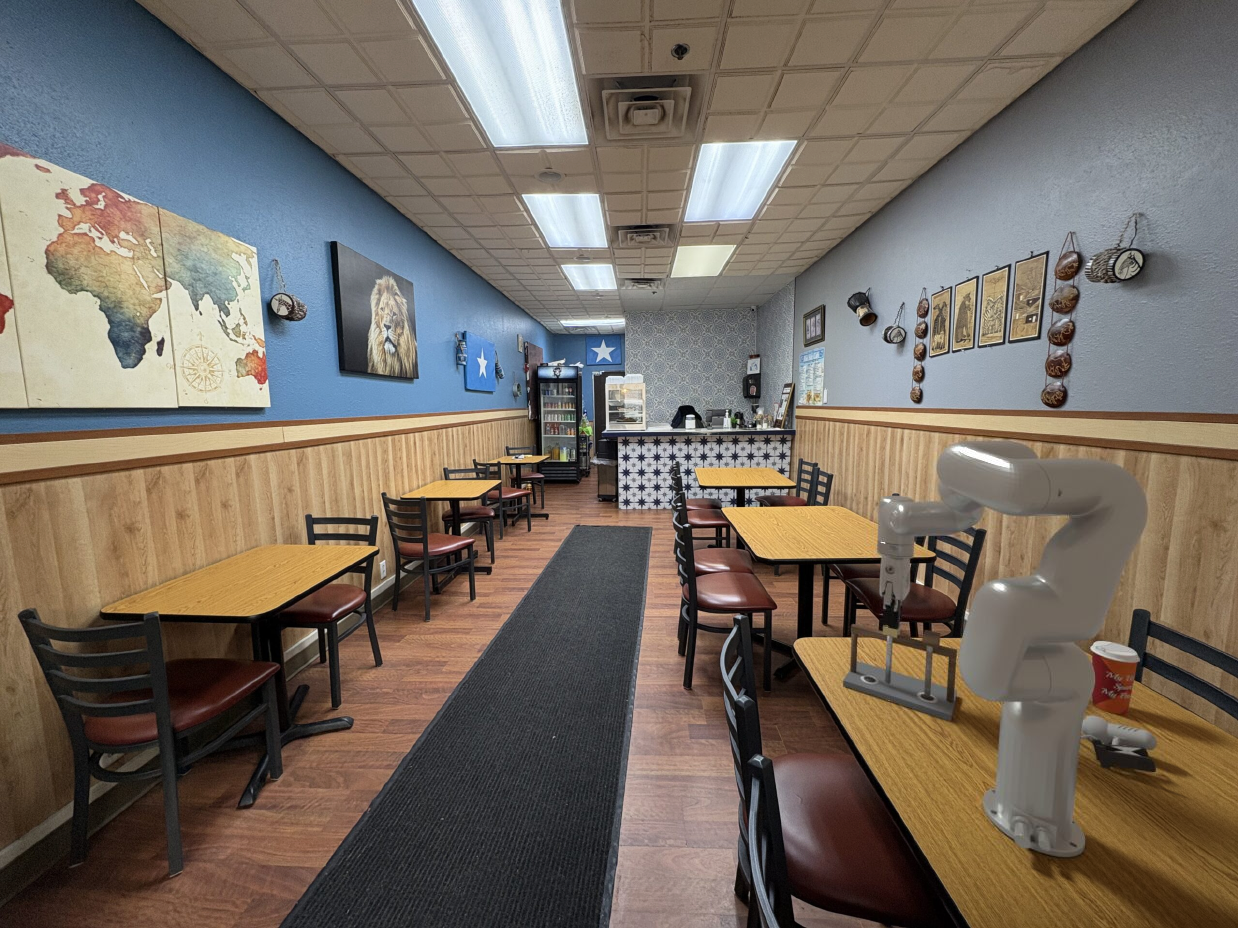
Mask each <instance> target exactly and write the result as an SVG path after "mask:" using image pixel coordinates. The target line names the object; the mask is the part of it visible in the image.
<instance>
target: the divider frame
mask: <svg viewBox="0 0 1238 928" xmlns="http://www.w3.org/2000/svg"><path fill="white" fill-rule="evenodd" d="M850 633H851V636H850V637H851V639H850V641H851V642H850V669H849V671H851V672H853V673H856V668H857V661H858V660H857V659H858V640H859V639H858V637H859V636H858V635H860V636H864V637H869V638H872V639H877V640H880V641H883V642H884V641H885V642H887V635H883V630H880V629H875V628H873V627H872V628H871V627H866V626H863V625H859V624H854V623H852V624H851V625H850ZM940 643H941V632H936V631H932V630H927V629H925V630H924V632H923V634H922V635H921V640H920V639H916V638H912V637H907V636H904V635H900V634H899V635H898V637H897V638H895V637H893V644H896V645H899V646H903V647H908V648H911V649H916V650H919V651H923V652H925V653H926V654H925V655H926V656H925V673H924V681H925V688H924V693H925V695H926V696H929V695H930V693H931V683H932V675H933V674H932V671H933V655H938V656H942V657H945V658H948V664H947V681H946V682H947V683H946V687H947V697H946V700H947V701H948V702H951V703H953V702H954V690H956V688H955V687H956V671H957V667H956V666H957V656H958V649H956V648H952V647H949V646H944V645H940Z"/></svg>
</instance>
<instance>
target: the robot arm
mask: <svg viewBox="0 0 1238 928" xmlns="http://www.w3.org/2000/svg"><path fill="white" fill-rule="evenodd" d="M936 475H937V478H938V479H939V481H938V485H937V491H938V495H939V497H940V498H941V499H940V500H932V501H931V500H926V501H915V500H914V498H911V497H908V496H903V495H885V496H882V497H881V498H880V500H879V503H878V518H877V519H878V520H877V521H878V522H877V523H878V524H877V540H876V541H877V544H876V552H877V553H876V554H878V555H879V556H881V560H880V570H879V571H880V573H879V596H880V597H881V598H883V607H882V622H881V623H882V625H883V626H884V625H887V626H891V627H895V628H897V627H898V617H899V611H897V607H898V600H899V601H900V602H901V606H900V622H902V619H903V615H902V614H903V605H902V604H903V601H904V600H905V599H906V597H907V596H908V595H909V593H910V591H911V559H913V558H914V553H915V537H930V536H931V537H932V536H933V537H934V536H935V537H939V536H952V535H956V534H959V533H962V532H964V531H966V530H968V529H970V528H972V527H974V526H975V525H977V524H978V523H980V521H981V520H982V518H983V516H984V513H985V508H987V509H989V510H991V511H994V512H996V513H999V514H1002V515H1006V516H1009V517H1010V516H1011V517H1012V516H1013V517H1021V518H1022V517H1025V518H1026V517H1056V516H1057V517H1058V516H1068V517H1069V519H1068V521H1066V523H1065V524H1064V525H1063V526H1061V527H1060V528H1058V530H1057V531H1056V532H1054V534H1053V535H1052V536H1051V537H1050V538H1049V540H1048V542H1047V543H1046V544H1045V546H1044V547H1043V551H1042V553H1041V558H1040V561H1039V563H1038V566H1037V567H1036V569H1035V571H1034V572H1033V574H1031V575H1029V576H1023V577H1019V576H1018V577H1001V578H994V579H992V580H990V581H987V582H986V583H984V584H983V585H982V586H981V587H980V588H979V589H978V590H977V592H976V593H975V594H974V597H973V599H972V602H971V605H970V608H969V612H968V616H967V620H966V623H965V626H964V631H963V633H962V638H961V641H960V645H959V649H958V655H957V656H958V658H957V659H958V660H957V661H958V662H957V663H958V669H959V674H960V676H961V679H962V680H963V682H964V685H966V687H967V688H968V690H970V691H971V692H972V694H974V695H976V696H977V697H979V698H981V699H983V700H986V701H990V702H995V703H1003V704H1002V707H1001V711H1000V712H1001V714H1000V723H999V734H998V735H999V736H998V738H999V739H998V749H997V762H996V763H997V764H996V765H997V766H996V778H995V787H993V788H990V789H988V790H987V791H985V793H984V795H983V799H982V805H983V806H982V807H983V810H984V813H985V814H986V816H987V818H989V820H990V821H991V822H992V824H994V825H995V827H997V828H998V829H999V830H1000V831H1001V832H1002V833H1004V834H1006V836H1008V837H1010V838H1011V839H1012V840H1013V841H1014V842H1015V844H1016V845H1017V846H1018V847H1020V848H1021V849H1026V850H1028V849H1031V850H1032V851H1033V850H1034V851H1036V852H1039V853H1041V854H1045V855H1047V856H1048V855H1049V856H1053V857H1059V858H1071V857H1077V856H1079V855H1081V854H1082V853H1083V852H1084V851H1085V847H1086V837H1085V833H1084V832H1083V830H1082V828H1081V827H1080V825H1079V824H1078V823H1077V822H1076V820H1074V819H1073V818H1074V808H1075V799H1076V797H1075V796H1076V788H1077V787H1076V785H1077V778H1078V777H1077V775H1078V765H1079V753H1080V752H1079V751H1080V746H1081V745H1080V744H1081V738H1080V737H1081V736H1082V735H1081V734H1082V731H1081V728H1082V723H1083V720H1084V719H1085V718H1084V716H1085V713H1086V711H1087V708H1088V706H1089V703H1090V700H1091V699H1092V693H1093V689H1094V685H1095V672H1094V668H1093V665H1092V660H1091V659H1090V658H1089V656H1088V655H1087V653H1086V652H1085V651H1084V650H1083V649H1082V648H1081V647H1080V646H1078V645H1077V644H1076V643H1077V642H1078V643H1079V642H1085V641H1088V640H1091V639H1093V638H1094V637H1095V636H1096V635H1097V634H1098V633H1099V631H1100V630H1101V629H1102V627H1103V624H1104V621H1105V620H1106V617H1107V614H1108V611H1109V609H1110V606H1111V605H1112V601H1113V599H1114V597H1115V594H1116V592H1117V589H1118V586H1119V584H1120V581H1121V578H1122V575H1123V572H1124V570H1125V568H1126V565H1127V564H1128V561H1129V559H1130V557H1131V556H1132V554H1133V552H1134V550H1135V549H1136V547H1137V545H1138V543H1139V541H1140V540H1141V537H1142V535H1143V533H1144V530H1145V528H1146V527H1147V526H1146V524H1147V521H1148V515H1149V513H1148V512H1149V507H1148V500H1147V497H1146V494H1145V490H1144V488H1143V487H1142V485H1141V484H1140V482H1139V481H1138V479H1137V478H1136V477H1135V476H1134V474H1132V473H1131V472H1130V471H1128V470H1127V469H1126V468H1123V467H1122V466H1121V465H1118V464H1116V463H1114V462H1111V461H1107V460H1103V459H1097V458H1089V457H1055V458H1039V456H1038V455H1037V452H1035V450H1034V449H1033V448H1031V447H1029V446H1028V445H1026V444H1024V443H1022V442H1017V441H1014V440H1013V441H1012V440H969V441H968V440H966V441H965V440H964V441H958V442H955V443H953V444H951V445H949V446H947V447H945V449H944V450H943V451H942V452H941V454H939V456H938V459H937V461H936ZM892 601H894V602H892Z"/></svg>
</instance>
